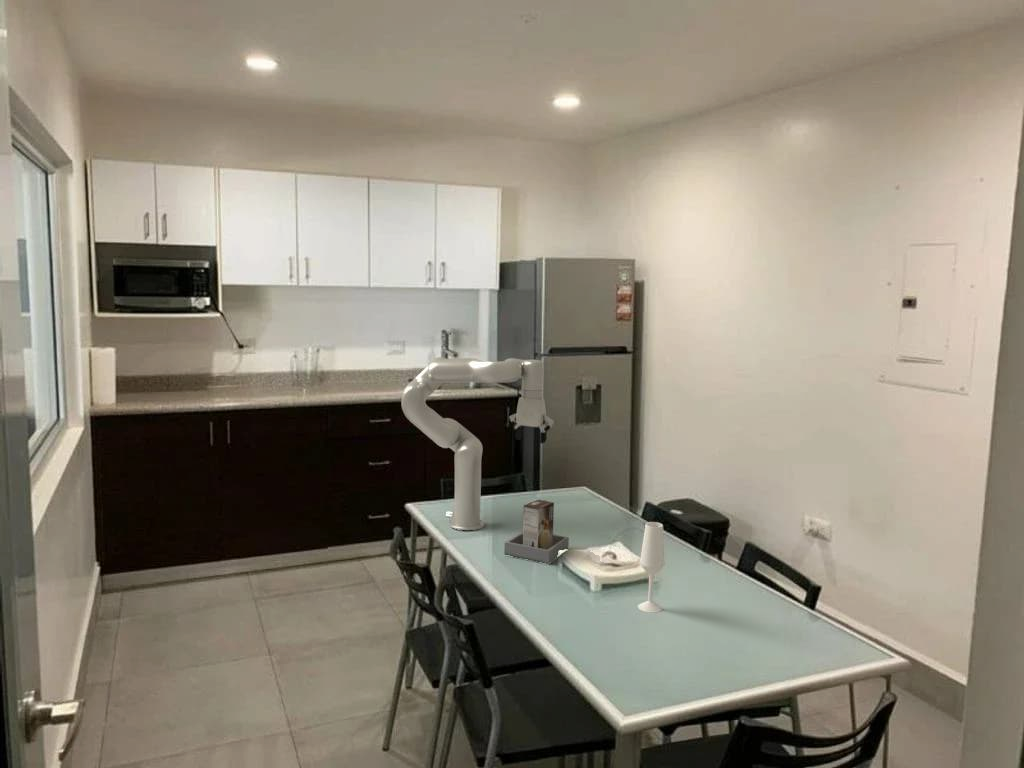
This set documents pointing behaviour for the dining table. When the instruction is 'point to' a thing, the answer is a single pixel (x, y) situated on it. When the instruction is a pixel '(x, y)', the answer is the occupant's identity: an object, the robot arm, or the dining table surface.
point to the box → (535, 549)
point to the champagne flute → (652, 560)
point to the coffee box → (538, 524)
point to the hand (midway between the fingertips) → (530, 441)
